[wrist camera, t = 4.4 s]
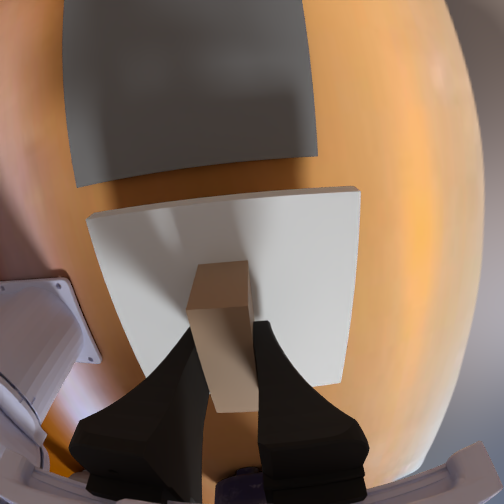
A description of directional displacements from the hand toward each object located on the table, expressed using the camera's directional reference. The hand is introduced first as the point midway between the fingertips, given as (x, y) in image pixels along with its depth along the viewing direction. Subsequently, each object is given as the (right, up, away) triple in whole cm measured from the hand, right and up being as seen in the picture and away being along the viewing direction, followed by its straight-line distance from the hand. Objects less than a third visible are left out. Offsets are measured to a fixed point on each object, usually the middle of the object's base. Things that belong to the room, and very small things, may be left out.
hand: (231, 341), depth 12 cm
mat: (-3, +15, +1) cm, 15 cm away
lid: (0, +1, +2) cm, 2 cm away
